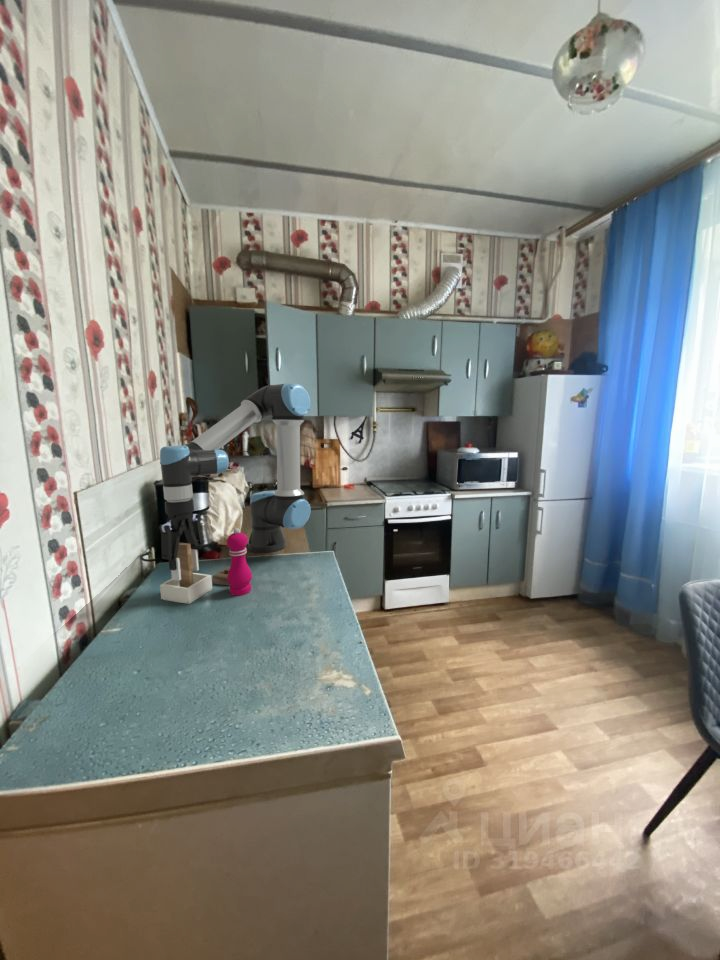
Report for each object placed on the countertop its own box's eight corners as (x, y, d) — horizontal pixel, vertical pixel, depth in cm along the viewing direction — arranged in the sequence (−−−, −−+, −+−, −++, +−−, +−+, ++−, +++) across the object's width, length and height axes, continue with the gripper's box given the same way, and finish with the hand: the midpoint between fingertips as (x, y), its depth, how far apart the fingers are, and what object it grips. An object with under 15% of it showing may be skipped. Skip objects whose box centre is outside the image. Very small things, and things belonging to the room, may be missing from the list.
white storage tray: (186, 584, 119) (185, 571, 118) (212, 588, 116) (211, 575, 115) (161, 599, 109) (159, 584, 109) (189, 604, 106) (187, 589, 106)
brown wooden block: (183, 589, 114) (179, 542, 111) (194, 591, 113) (190, 543, 110) (180, 591, 112) (175, 544, 110) (191, 593, 111) (186, 545, 109)
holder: (227, 574, 126) (226, 567, 126) (244, 576, 124) (244, 569, 124) (213, 583, 120) (212, 575, 119) (231, 585, 118) (231, 578, 117)
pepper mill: (256, 586, 117) (252, 524, 114) (247, 597, 110) (243, 532, 107) (234, 585, 118) (230, 524, 115) (223, 596, 111) (219, 531, 108)
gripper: (192, 492, 118) (198, 561, 122) (140, 506, 100) (148, 586, 103) (212, 493, 116) (217, 563, 120) (162, 507, 97) (170, 590, 101)
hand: (185, 574), depth 112 cm, fingers open, 7 cm apart
